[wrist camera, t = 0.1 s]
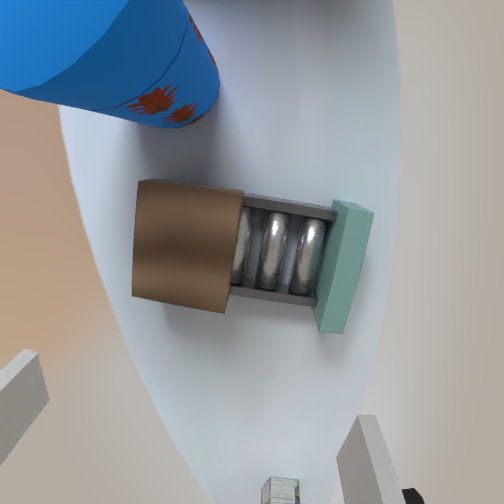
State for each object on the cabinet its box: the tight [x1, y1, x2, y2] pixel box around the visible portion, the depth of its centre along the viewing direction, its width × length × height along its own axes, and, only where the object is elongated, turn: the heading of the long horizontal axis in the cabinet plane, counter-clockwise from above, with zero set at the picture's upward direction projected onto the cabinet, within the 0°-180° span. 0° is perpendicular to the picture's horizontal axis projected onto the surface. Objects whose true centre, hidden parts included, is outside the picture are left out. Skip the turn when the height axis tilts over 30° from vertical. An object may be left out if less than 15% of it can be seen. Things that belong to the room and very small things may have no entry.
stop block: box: [312, 200, 374, 334], centre depth 35 cm, size 13×3×7 cm, turn 171°
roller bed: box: [229, 193, 338, 307], centre depth 36 cm, size 11×20×3 cm, turn 81°
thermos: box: [0, 0, 220, 128], centre depth 21 cm, size 11×11×25 cm
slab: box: [132, 179, 244, 313], centre depth 33 cm, size 12×10×4 cm
